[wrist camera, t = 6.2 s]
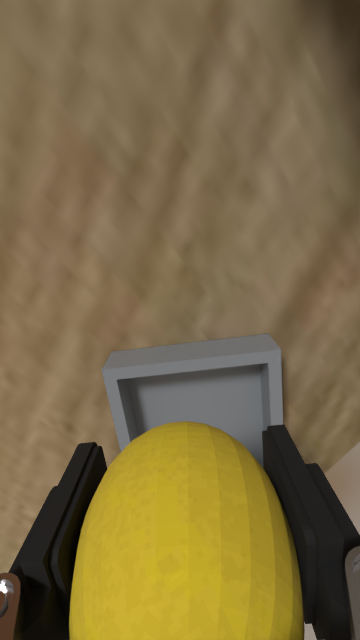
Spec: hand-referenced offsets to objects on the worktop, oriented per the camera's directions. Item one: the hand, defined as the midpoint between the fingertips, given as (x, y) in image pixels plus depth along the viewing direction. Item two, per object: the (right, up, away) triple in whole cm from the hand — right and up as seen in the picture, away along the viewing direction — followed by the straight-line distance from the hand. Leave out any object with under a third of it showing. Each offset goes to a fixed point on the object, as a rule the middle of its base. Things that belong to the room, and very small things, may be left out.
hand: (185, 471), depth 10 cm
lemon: (0, 0, +2) cm, 2 cm away
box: (+2, -3, +18) cm, 18 cm away
